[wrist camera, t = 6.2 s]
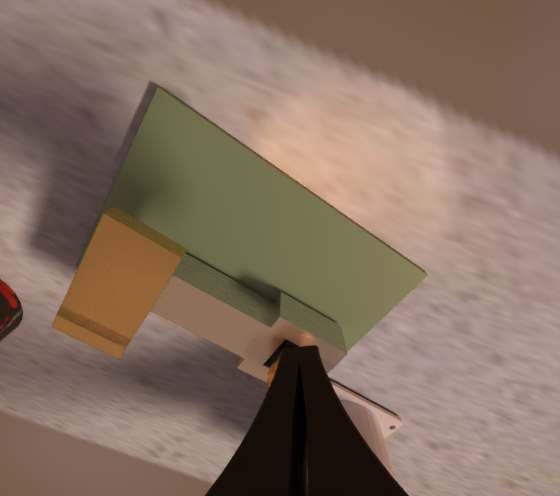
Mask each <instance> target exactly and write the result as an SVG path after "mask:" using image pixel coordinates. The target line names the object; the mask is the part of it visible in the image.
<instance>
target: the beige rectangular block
mask: <svg viewBox="0 0 560 496" xmlns="http://www.w3.org/2000/svg"><path fill="white" fill-rule="evenodd" d="M149 311H151V312H153V313H155V314H157V315H159V316H161V317H163V318H165V319H167V320H169V321H171V322H173V323H175V324H177V325H179V326H181V327H183V328H185V329H187V330H189V331H191V332H193V333H195V334H197V335H199V336H201V337H203V338H205V339H207V340H209V341H211V342H213V343H215V344H217V345H219V346H221V347H223V348H225V349H227V350H229V351H231V352H233V353H235V354H237V355H239V361H238V366H237V368H238V369H240V370H242V371H244V372H246V373H248V374H250V375H252V376H254V377H256V378H258V379H260V380H262V381H264V382H266V383H267V379H268V371H269V368H270V367H271V365H272V364H273V363H275V362H276V361H277V349H278V347H279V346H280V345H281V344H282V342H283V341H284V340H285V339H287V340H289V341H290V342H292V343H294V344H296V345H298V346H300V347H302V346H311V345H316V346H317V347H319V353H320V357H321V360H322V363H323V366H324V368H325V371H326V373H328V372H329V371H330V370H331V369H333V368H334V367H335V366H336V365H337V364H338V363H339V362H340V361H341V360H342V359H343V358H344V357H345V356H346V355H347V350H346V345H345V340H344V336H343V331H342V327H341V326H340V325H338V324H337V323H335V322H333V321H331V320H330V319H328V318H326V317H324V316H323V315H321V314H319V313H317V312H316V311H314V310H312V309H310V308H309V307H307V306H305V305H303V304H302V303H300V302H298V301H296V300H295V299H293V298H291V297H289V296H288V295H286V294H284V293H282V292H281V293H280V294H279V295H278V296H277V298H276V299H275V300H274V301H273V302H272V301H270V300H268V299H266V298H265V297H263V296H261V295H259V294H258V293H256V292H254V291H252V290H250V289H249V288H247V287H245V286H243V285H241V284H240V283H238V282H236V281H234V280H233V279H231V278H229V277H227V276H225V275H224V274H222V273H220V272H218V271H216V270H215V269H213V268H211V267H209V266H208V265H206V264H204V263H202V262H200V261H199V260H197V259H195V258H193V257H191V256H190V255H188V254H186V253H185V254H184V256H183V258H182V259H181V261H180V262H179V264H178V266H177V267H176V269H175V270H174V272H173V274H172V275H171V277H170V278H169V280H168V282H167V283H166V285H165V286H164V288H163V290H162V291H161V293H160V294H159V296H158V298H157V299H156V301H155V302H154V304H153V306H152V307H151V309H150V310H149Z"/></svg>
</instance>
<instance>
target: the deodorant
mask: <svg viewBox="0 0 560 496" xmlns="http://www.w3.org/2000/svg"><path fill="white" fill-rule="evenodd" d="M22 315H23V311H22V307H21V303H20V301H19V299H18V297H17V296H16V294H15V293H14V292H13V291H12V289H11V288H10V287H9V286H8V285H7V284H6V283H4V282H3V281H2V280H0V341H1V340H2V339H3V338H5V337H6V336H7V335H8V334H9V333H11V332H12V331H13V330H14V329H15V328H16V327H18V326H19V324H20V322H21V320H22Z"/></svg>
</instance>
